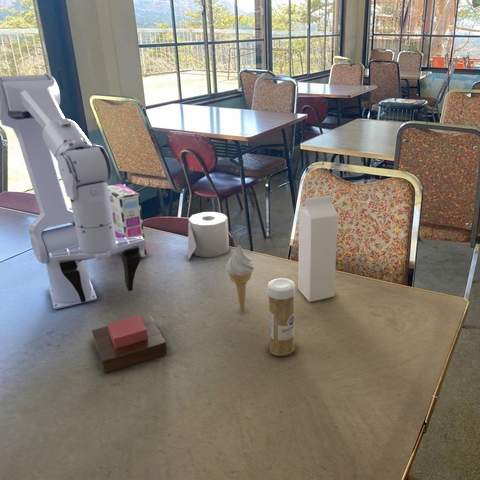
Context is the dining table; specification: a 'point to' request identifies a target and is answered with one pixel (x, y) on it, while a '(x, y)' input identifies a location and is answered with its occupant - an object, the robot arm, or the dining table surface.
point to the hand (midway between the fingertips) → (106, 293)
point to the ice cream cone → (240, 273)
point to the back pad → (127, 331)
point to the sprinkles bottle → (281, 316)
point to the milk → (317, 248)
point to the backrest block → (129, 347)
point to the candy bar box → (126, 213)
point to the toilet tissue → (208, 234)
